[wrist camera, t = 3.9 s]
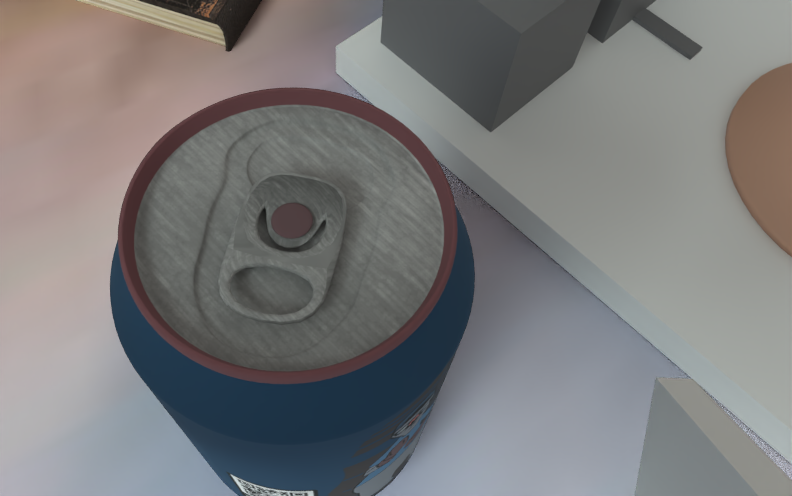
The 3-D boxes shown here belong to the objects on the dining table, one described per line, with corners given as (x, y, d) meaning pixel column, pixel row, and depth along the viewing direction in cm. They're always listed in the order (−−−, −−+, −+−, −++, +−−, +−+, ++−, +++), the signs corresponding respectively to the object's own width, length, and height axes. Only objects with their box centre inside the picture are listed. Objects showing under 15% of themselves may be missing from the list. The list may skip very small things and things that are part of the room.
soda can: (239, 290, 24) (163, 30, 14) (437, 331, 24) (514, 100, 13) (171, 496, 21) (1, 364, 10) (399, 546, 21) (463, 463, 10)
